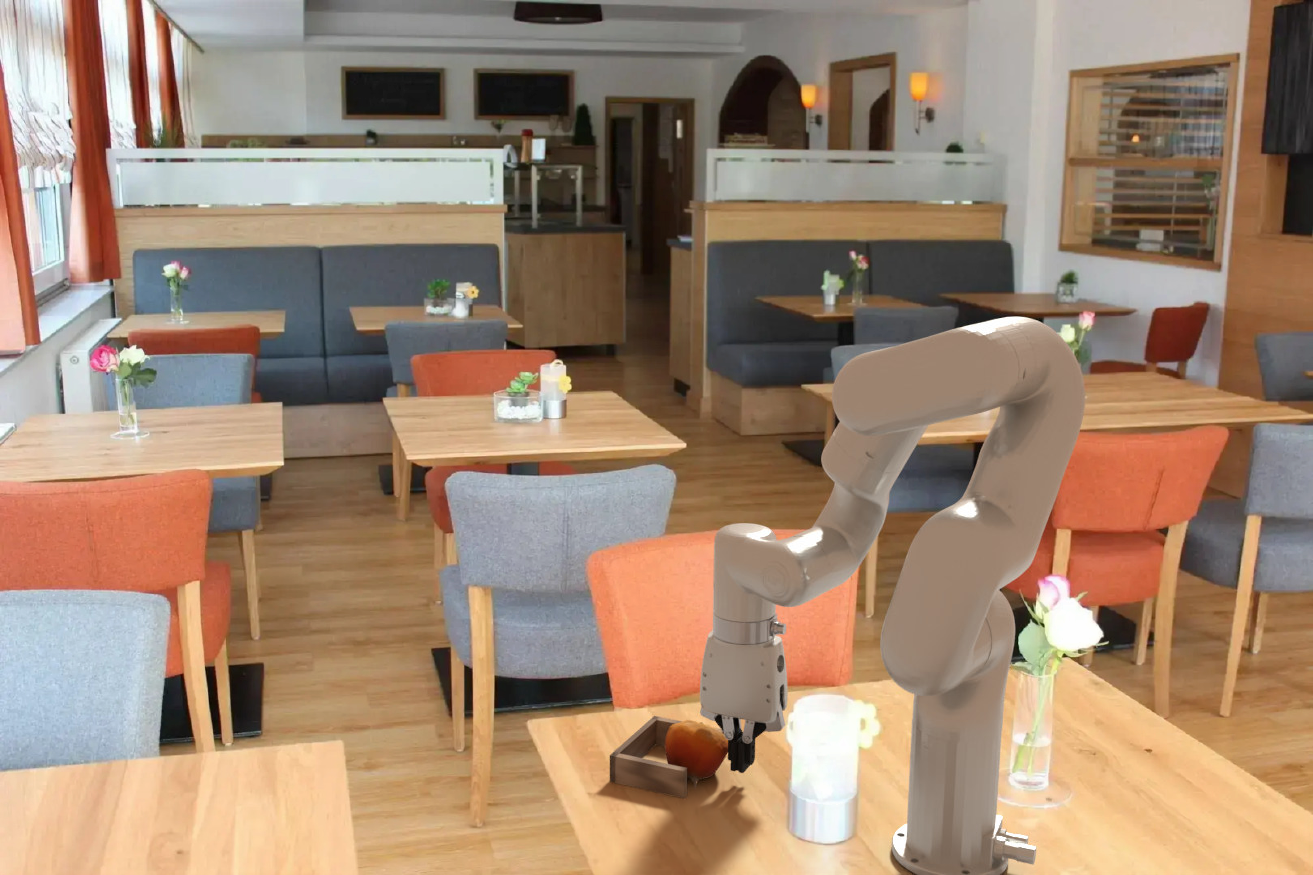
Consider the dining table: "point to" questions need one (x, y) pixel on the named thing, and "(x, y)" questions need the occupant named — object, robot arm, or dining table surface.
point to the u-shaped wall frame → (648, 761)
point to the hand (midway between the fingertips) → (741, 767)
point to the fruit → (695, 748)
